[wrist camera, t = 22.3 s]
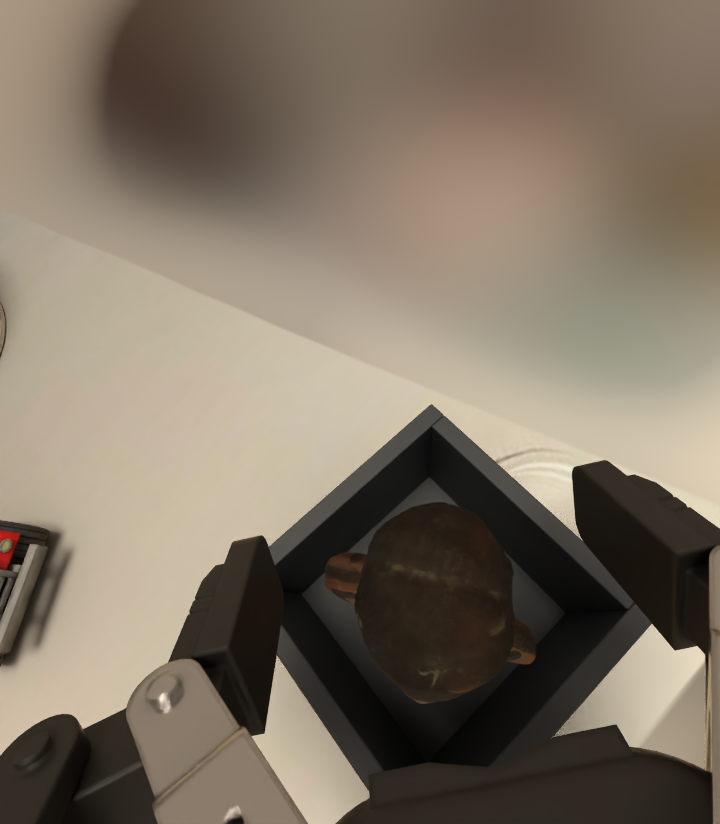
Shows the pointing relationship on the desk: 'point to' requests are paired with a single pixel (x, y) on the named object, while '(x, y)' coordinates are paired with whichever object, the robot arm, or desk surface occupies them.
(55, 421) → the desk surface
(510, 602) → the figurine
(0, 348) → the container
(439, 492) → the bin
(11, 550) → the toy truck
